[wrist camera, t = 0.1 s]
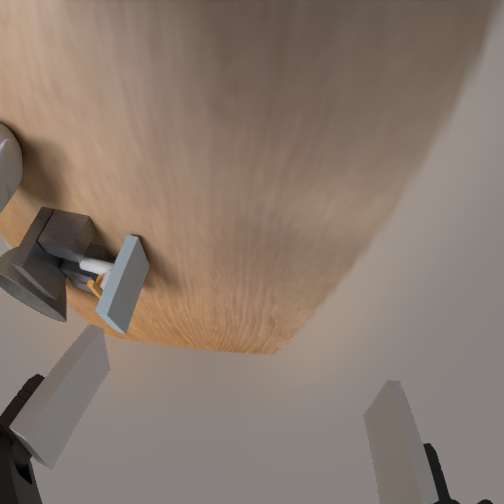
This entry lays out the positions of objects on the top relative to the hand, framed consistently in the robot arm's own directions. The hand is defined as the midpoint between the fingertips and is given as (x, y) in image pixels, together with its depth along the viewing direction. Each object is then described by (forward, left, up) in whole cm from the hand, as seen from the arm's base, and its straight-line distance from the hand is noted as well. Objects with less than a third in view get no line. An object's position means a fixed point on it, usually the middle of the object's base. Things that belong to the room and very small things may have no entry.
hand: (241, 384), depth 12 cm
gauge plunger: (+18, -18, -15) cm, 30 cm away
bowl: (+29, -39, -16) cm, 51 cm away
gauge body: (+20, -23, -15) cm, 34 cm away
